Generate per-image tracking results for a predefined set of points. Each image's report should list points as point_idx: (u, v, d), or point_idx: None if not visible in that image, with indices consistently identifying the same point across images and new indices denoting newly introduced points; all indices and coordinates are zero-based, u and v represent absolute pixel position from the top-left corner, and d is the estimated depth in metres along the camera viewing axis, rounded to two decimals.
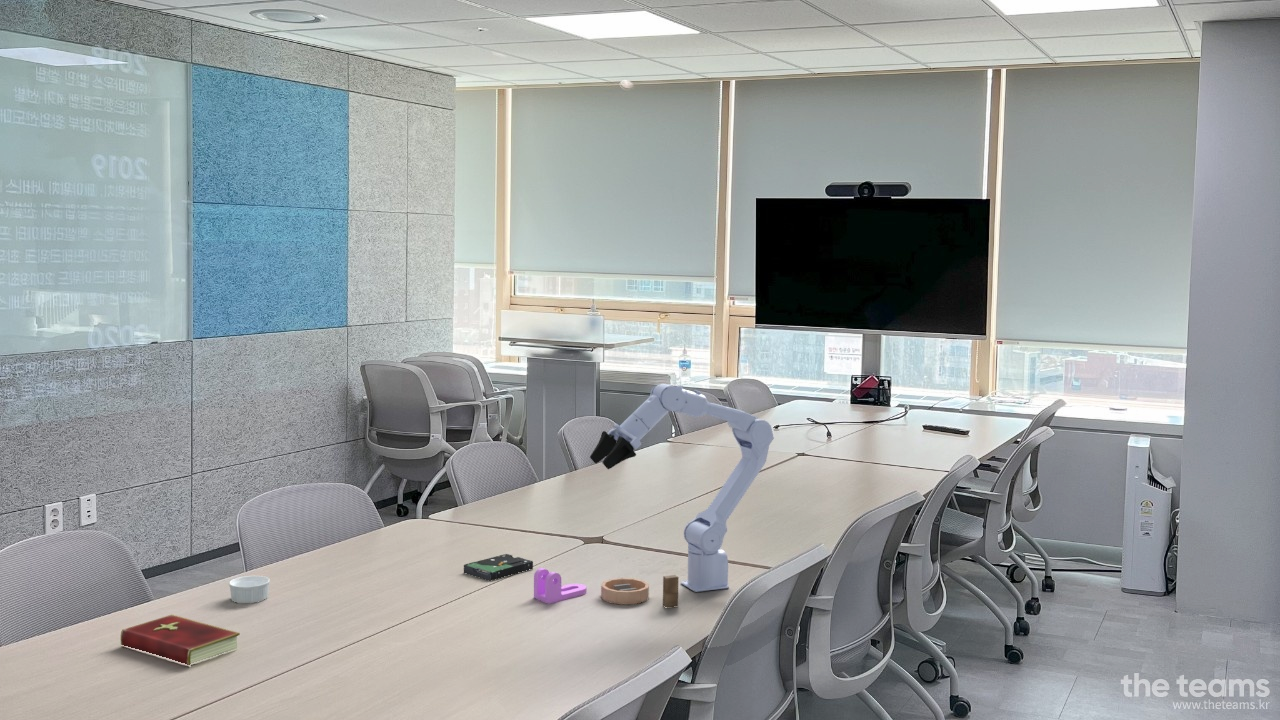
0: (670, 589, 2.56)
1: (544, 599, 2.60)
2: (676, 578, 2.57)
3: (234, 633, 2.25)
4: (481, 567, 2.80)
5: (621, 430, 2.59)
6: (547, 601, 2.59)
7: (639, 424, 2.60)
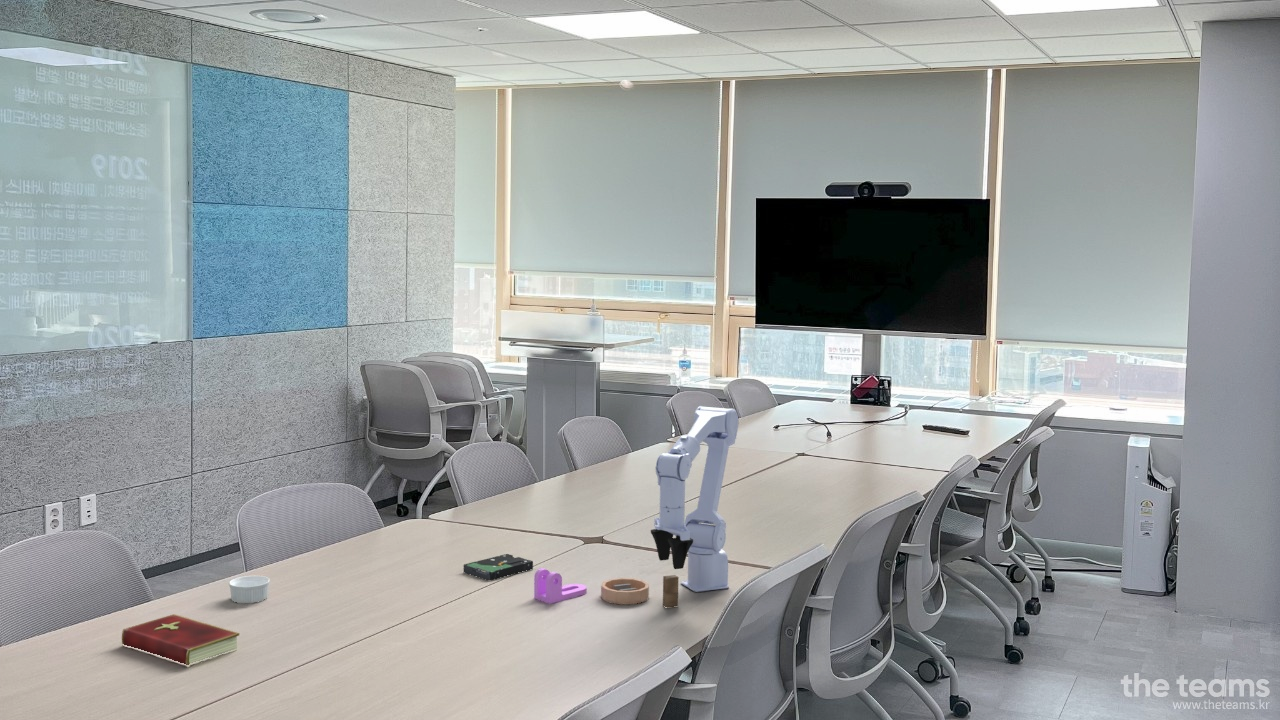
0: (670, 589, 2.56)
1: (544, 599, 2.59)
2: (676, 578, 2.57)
3: (234, 633, 2.25)
4: (480, 567, 2.80)
5: (664, 529, 2.53)
6: (548, 601, 2.59)
7: (673, 513, 2.53)
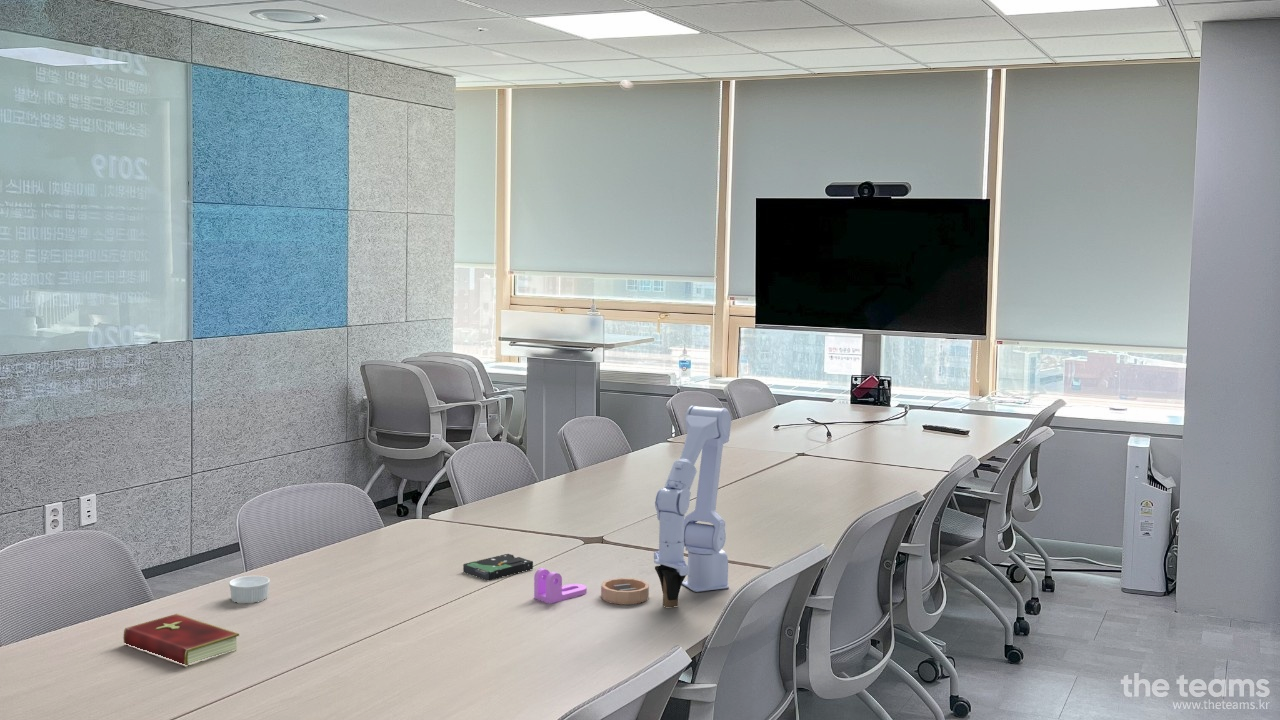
0: None
1: (544, 599, 2.59)
2: None
3: (234, 634, 2.25)
4: (479, 567, 2.80)
5: (664, 564, 2.54)
6: (548, 601, 2.59)
7: (672, 547, 2.54)
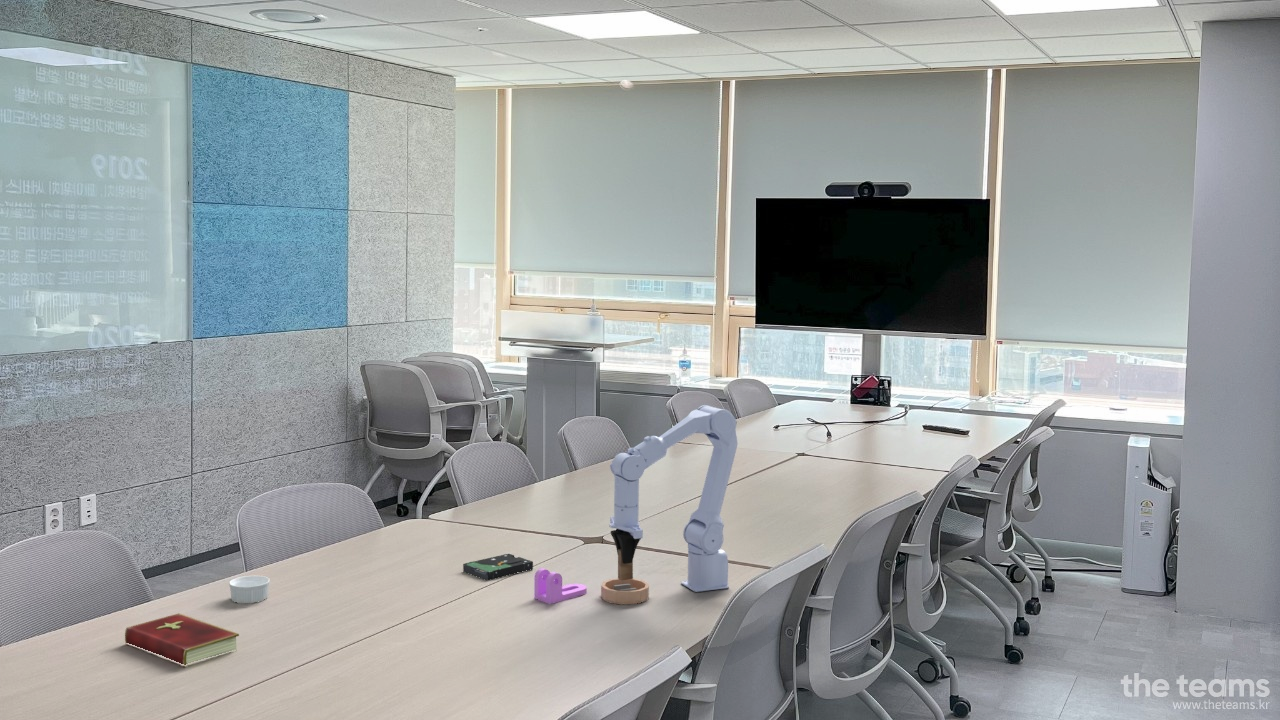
0: None
1: (545, 599, 2.59)
2: None
3: (233, 634, 2.24)
4: (479, 566, 2.80)
5: (618, 528, 2.60)
6: (548, 601, 2.59)
7: (627, 512, 2.59)
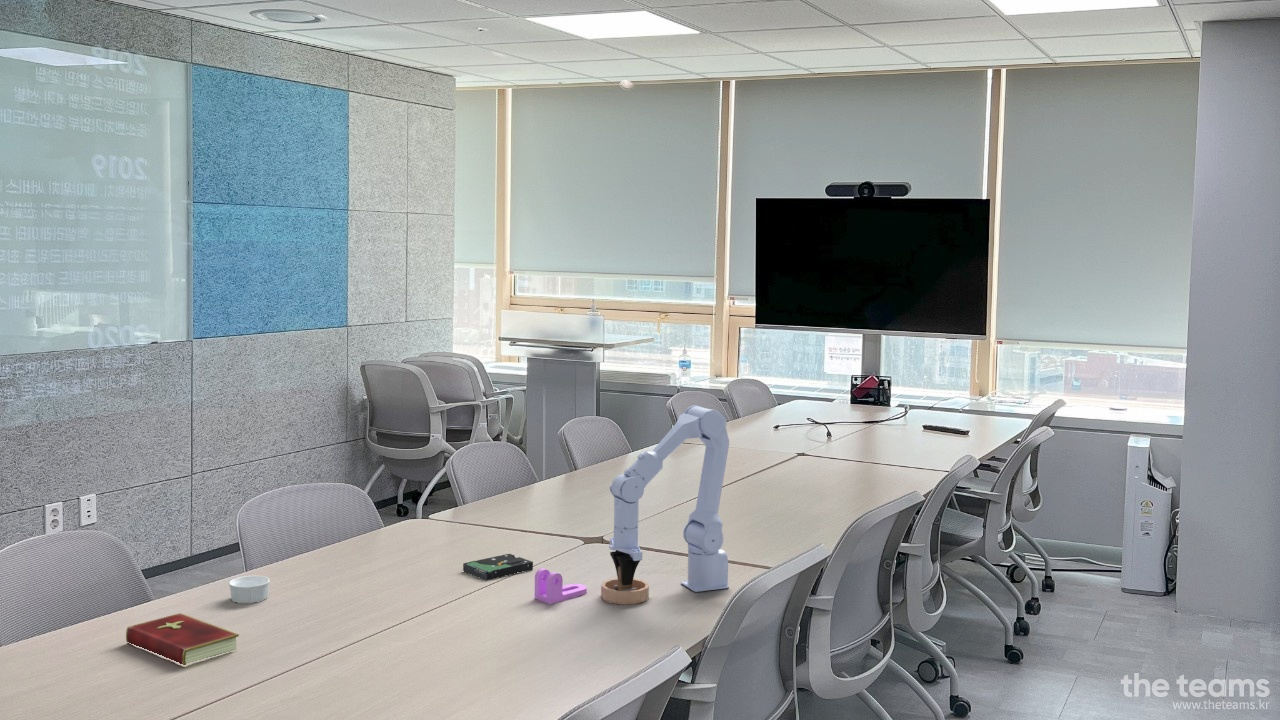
0: None
1: (545, 599, 2.59)
2: None
3: (233, 634, 2.24)
4: (479, 566, 2.81)
5: (618, 549, 2.60)
6: (548, 601, 2.59)
7: (626, 533, 2.60)
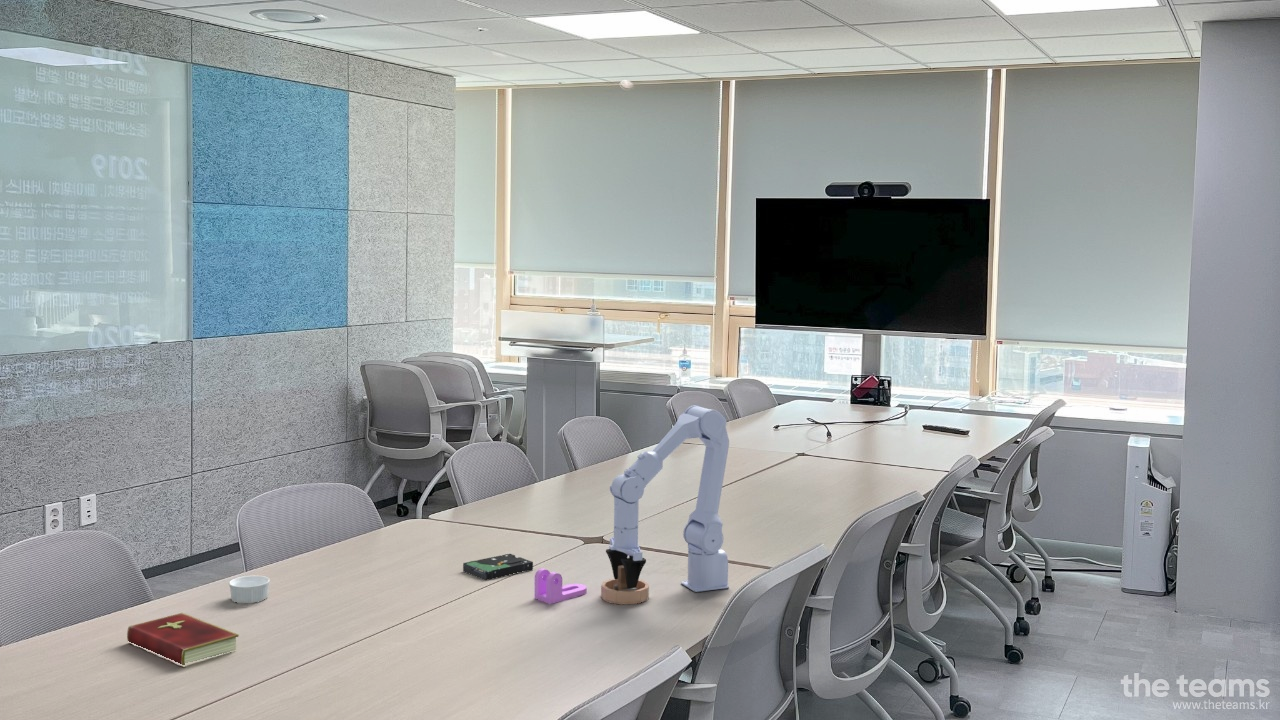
0: (624, 578, 2.62)
1: (545, 599, 2.59)
2: None
3: (233, 634, 2.24)
4: (478, 566, 2.81)
5: (618, 549, 2.60)
6: (548, 601, 2.59)
7: (626, 533, 2.60)
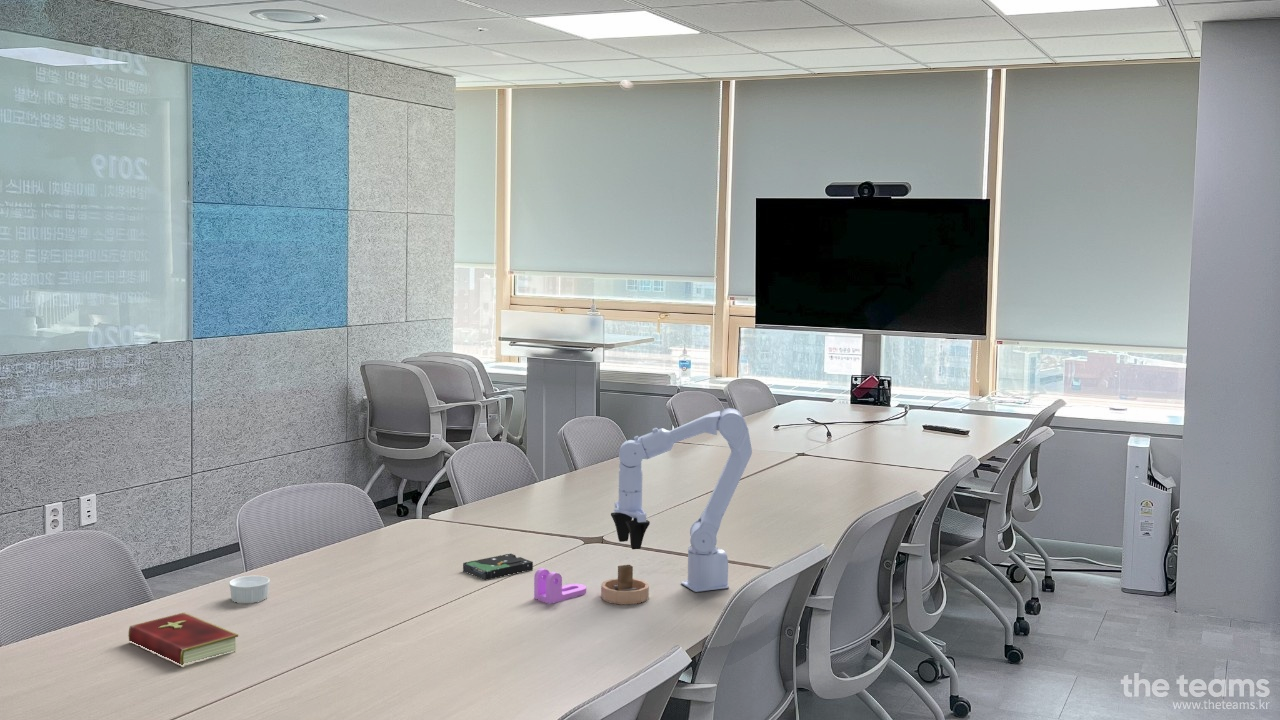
0: (624, 578, 2.62)
1: (545, 599, 2.59)
2: (630, 568, 2.63)
3: (233, 634, 2.24)
4: (478, 566, 2.81)
5: (623, 512, 2.70)
6: (548, 601, 2.59)
7: (631, 496, 2.69)
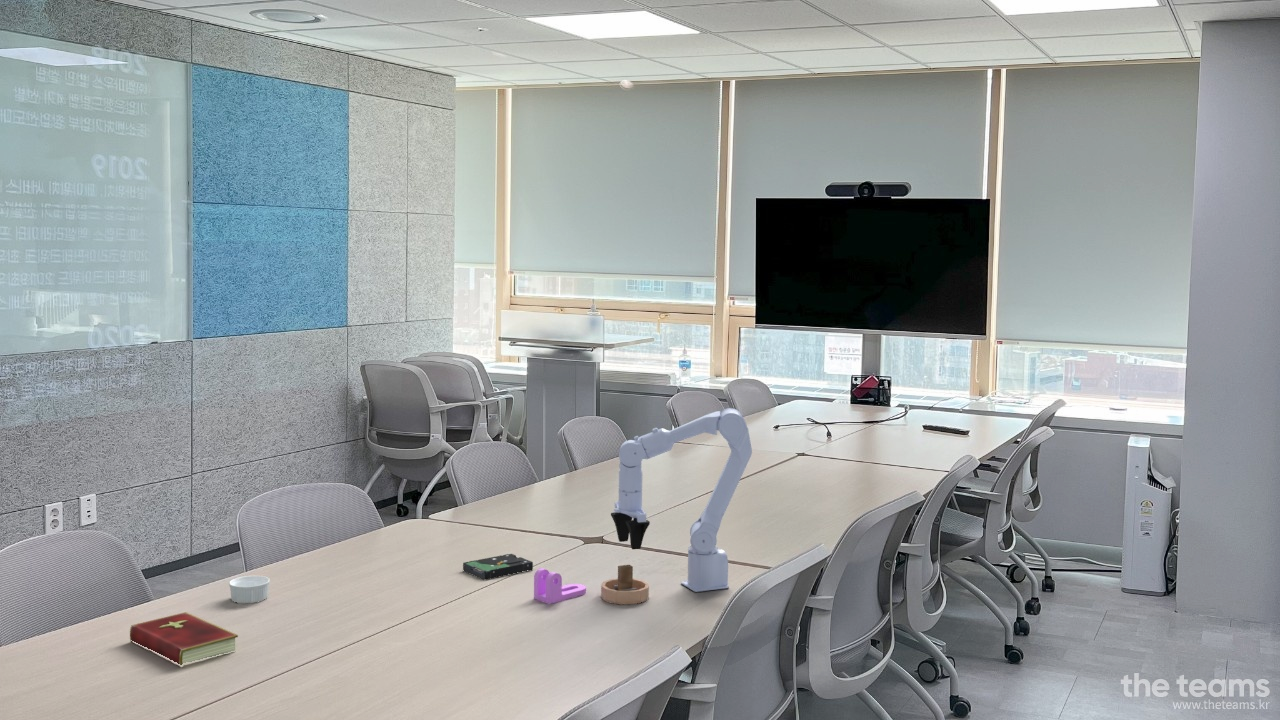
0: (624, 578, 2.62)
1: (544, 599, 2.59)
2: (630, 568, 2.63)
3: (232, 635, 2.24)
4: (478, 566, 2.81)
5: (623, 512, 2.70)
6: (548, 601, 2.59)
7: (631, 496, 2.69)
